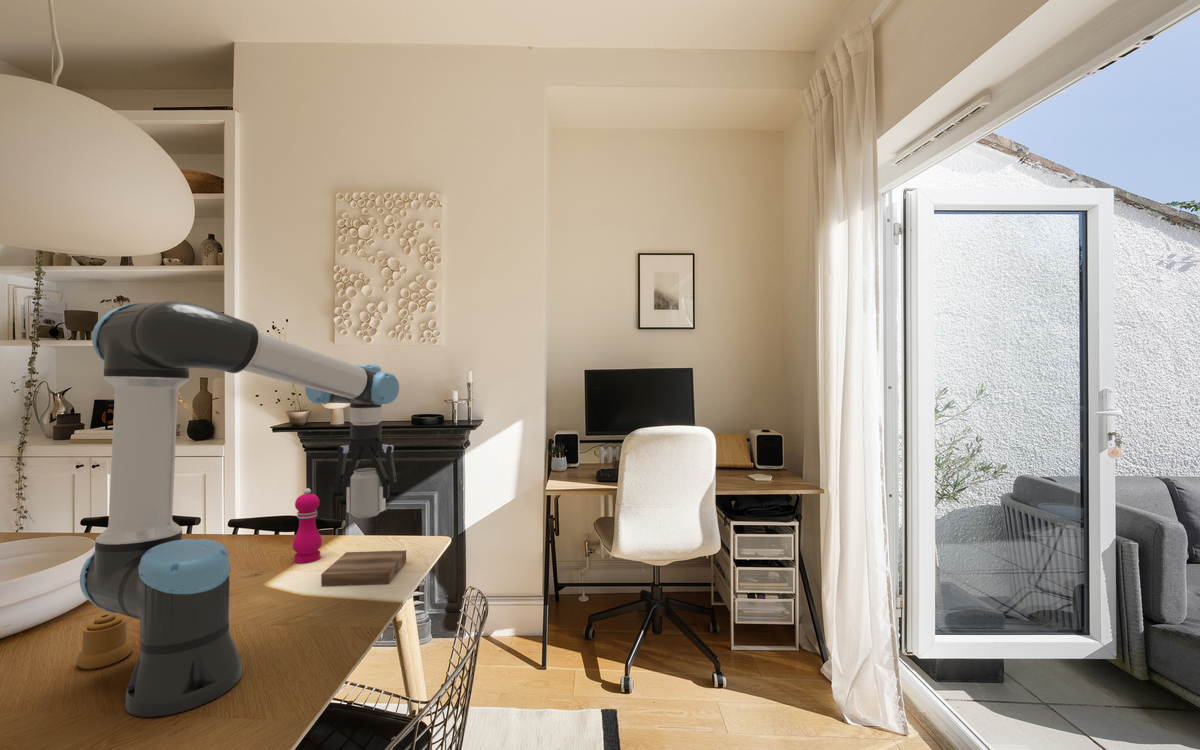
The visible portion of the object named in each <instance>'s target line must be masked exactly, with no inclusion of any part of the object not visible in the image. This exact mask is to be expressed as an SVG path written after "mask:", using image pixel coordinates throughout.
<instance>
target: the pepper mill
mask: <svg viewBox="0 0 1200 750" xmlns="http://www.w3.org/2000/svg"><path fill="white" fill-rule="evenodd" d="M319 506H320V498H319V497H318V495H316V494H314V493H312V490H311V489H310V488H307V487H306V488H305V489H304V490H303V494H301V495H299V496H298V497H297V498H296V499H295V502H294V507H295V509H296V510H297V512H296V514H297V515H296V518H297V519H298V521H299V522H298V529H297V531H296V534H295V537H294V538H293V541H292V550H293V551H294V552H295V554H294V562H295V564H307V562H309V563H312V561H313V562H316V561H318V560H319V559H320V558H321V552H320V550H319V549H320V548H321V546H322V544H323V540H322V537H321V533H319V530H318V528H317V525H316V524H317V523H316V520H317V519H316V518H317V516H318V510H317V509H318V507H319ZM317 559H318V560H317ZM315 560H316V561H315Z"/></svg>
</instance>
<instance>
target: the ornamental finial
mask: <svg viewBox="0 0 1200 750" xmlns="http://www.w3.org/2000/svg"><path fill="white" fill-rule="evenodd" d="M126 620H127V619H126V618H125V617H122V616H121V615H118V614H114V612H110V613H104V614H101V615H98V616H96V617H95V618H94V620H92V621H90V622H89V623H88V624H87V625H86V626H85V627H84V628H83V630H82V645H81V648H82V649H81V650H80V651H79V653H78V654H77V656H76V659H75V662H76V665H77V666H78V667H79V668H80V669H83V670H95V669H96V668H97V669H101V667H102V668H106V667H108V666H107V665H109V666H111V665H110V664H112V665H114V664H117V663H118V661H119V662H121V661H123V660H124V659H125V658H127V657H128V656H129V655H130V654H131V652H132V649H133V643H132V641H131V640H130V639H129V638H128V637H127V636H128V635H127V634H128V633H127V622H126ZM120 660H121V661H120ZM116 662H117V663H116ZM113 663H114V664H113ZM105 666H106V667H105Z"/></svg>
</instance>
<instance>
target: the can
mask: <svg viewBox="0 0 1200 750" xmlns="http://www.w3.org/2000/svg"><path fill="white" fill-rule="evenodd" d="M353 472H354V474H353V475H352V476H351V477H350V492H351V512H350V514H351V515H352V516H353V517H354V518H355V519H356V518H357V519H368V518H374V517H376V516H379V514H380V513H381V512H379V487H380V486H381V485H382V483H381V480H380V478H379V476H378V473H377V471H376V469H375V467H365V468H358V469H356V470H354V471H353Z"/></svg>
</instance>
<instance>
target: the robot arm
mask: <svg viewBox="0 0 1200 750" xmlns="http://www.w3.org/2000/svg"><path fill="white" fill-rule="evenodd" d="M91 342H92V346H93V349H94V352H95V353H96V354H97V356H99V358H100V359H101V360H102V361H103V379H104V380H105V381H106V382H107V383H109V384H110V385H111V386H113V389H114V401H113V402H114V403H113V406H114V407H113V419H112V420H113V423H112V424H113V425H112V444H111V463H110V482H109V483H110V485H109V505H108V507H109V509H108V523H107V524H108V525H107V528H106V529H105V530H103V531H102V532H101V533H100V534H99V535H98V536H96V537H95V541H94V542H95V543H94V551H93V553H92V554H91V555H90V557H88V558H87V559H86V560H85V562H84V563H83V565H82V568H81V571H80V574H79V585H80V589H81V592H82V594H83V596H84V597H85V598H86V599H87V600H88V601H89V602H90V603H91V604H93V605H95V606H96V607H97V608H99V609H103V610H104V611H106V612H110V613H113V614H114V613H116V614H120V615H124V616H126V617H130V618H132V619H135V620H139V641H140V642H139V643H140V645H139V646H140V647H139V648H140V649H139V651H140V652H139V656H138V659H137V661H136V664H135V666H134V668H133V671H132V674H131V676H130V679H129V683H128V685H127V688H126V690H125V710H126V712H127V713H129V714H130V715H131V716H132V715H133V716H135V717H140V718H141V717H142V718H151V717H152V718H153V717H162V716H163V717H164V716H169V715H174V714H177V713H182V712H185V711H189V710H191V709H195V708H197V707H198V708H199V706H203V705H205V704H207V703H209V702H211V701H214V700H215V699H218V698H219V697H221V696H222V695H224V694H225V693H227V692H228V691H230V690H231V689H232V688H233V687H234V686H236V685H237V684H238V682H239V680H240V679H241V678H242V674H243V673H242V671H243V670H242V668H243V665H242V658H241V656H240V654H239V652H238V651H239V650H238V648H237V646H236V644H235V642H234V639H233V637H232V635H231V631H230V573H231V571H232V570H231V564H230V563H231V562H230V556H229V551H228V549H227V547H226V546H225V545H224V544H222V543H220V542H218V541H217V540H213V539H207V538H206V539H205V538H199V539H195V538H185V539H184V538H183V526H180V525H179V524H177V522H175V521H174V519H173V507H174V506H173V505H174V490H175V489H174V487H175V486H174V485H175V481H174V480H175V464H176V462H175V461H176V442H177V440H176V439H177V420H178V399H179V398H178V397H179V395H178V394H179V389H180V388H181V387H182V386H183V385H185V384H186V383H188V382H189V380H190V369H204V370H207V369H209V370H217V371H220V372H221V371H222V372H226V373H229V374H239V373H241V372H243V371H245V372H248V373H252V374H256V375H260V376H264V377H267V378H271V379H274V380H278V381H282V382H287V383H290V384H294V385H298V386H301V387H305V390H304V391H305V395H306V398H307V399H308V400H309V401H310V402H311V403H313V404H318V405H319V404H323V405H328V404H350V405H349V407H350V408H349V410H350V415H349V417H350V418H349V419H350V420H349V423H351V425H350V426H349V427H350V428H349V429H350V430H349V431H350V432H349V433H350V435H349V436H350V442H349V443H348V444H347V445H341V446H338V447H337V449H336V450H337V453H338V454H337V455H338V459H337V467H336V473H335V479H334V484H335V485H337V486H341V487H342V498H343V500H346V513H347V514H349V513H350V514H351V492H350V477H351V476H352V475H353V474H354V472H353V471H354V470H357V468H358V466H359V465H360V462H361V461H362V460H371V462H372V464H373V466H374V468H375V469H376V471H377V473H378V476H379V478H380V480H381V483H382V485H381V486H380V487H379V512H380V513H383V512H384V511H386V503H387V502H386V501H387V500H386V499H388V498H389V497H390V486H391V485H393V484H394V483H396V482H397V480H398V478H397V472H396V465H395V459H394V458H395V457H394V449H395V445H394V444H390V445H389V444H384V442H383V439H382V438H383V437H382V433H383V427H382V424H381V422H382V420H383V419H382V416H383V415H382V412H383V411H382V405H389V404H392V403H394V402H395V400H396V399H397V398H398V396H399V391H400V381H399V380H398V378H397V377H396V376H395V374H394V373H392V372H385V371H382V368H381V367H380V366H379V365H378V364H352V363H350V362H347V361H344V360H340V359H338V358H335V357H332V356H329V355H325V354H323V353H321V352H318V351H315V350H312V349H309V348H306V347H303V346H302V345H301V346H299V344H294V343H292V342H289V341H286V340H282V339H280V338H277V337H274V336H271V335H268V334H265V333H263V332H260V331H259V329H258V327H257V326H256V325H255V324H253V323H251V322H247V321H245V320H242V319H239V318H236V317H234V316H232V315H229V314H226V313H223V312H220V311H218V310H215V309H213V308H209V307H207V306H204V305H200V304H197V303H192V302H189V301H181V300H169V301H168V300H166V301H160V302H158V301H156V302H142V303H141V302H136V303H129V304H125V305H123V306H120V307H117V308H114V309H112V310H109V311H108V312H107V313H105V314H104V315H103V316H102V317H101V318H100V319H98V321H97V322H96V324H95V325H94V327H93V330H92V335H91ZM349 450H350V451H349ZM382 450H383V452H384V454H385V462H386V468H387V469H385V467H384V465H383V462H382V460H381V456H380V452H381V451H382ZM349 452H351V453H352V455H353V456H352V458H351V462H350V465H349V467H348V469H347V472H346V466H347V458H348V453H349ZM386 470H387V472H386ZM345 472H346V475H345Z"/></svg>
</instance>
